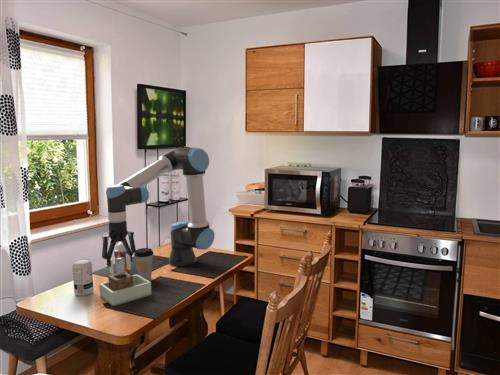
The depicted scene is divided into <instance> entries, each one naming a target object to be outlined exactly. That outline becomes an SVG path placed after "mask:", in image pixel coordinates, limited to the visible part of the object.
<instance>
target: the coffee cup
mask: <svg viewBox="0 0 500 375" xmlns="http://www.w3.org/2000/svg"><path fill="white" fill-rule="evenodd" d="M153 255H155V253H154V251H153V249H152V248H149V247H142V248H138V249H136V253H133V256H134V257H135V265H136V272H137V275H139V276H141V277H143V278H144V279H146V280H148V281H150V280H152V273H153V272H152V271H153V260H154V259H153V258H154V257H153Z"/></svg>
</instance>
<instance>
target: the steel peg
mask: <svg viewBox="0 0 500 375" xmlns="http://www.w3.org/2000/svg"><path fill="white" fill-rule="evenodd" d="M115 270H116V273H115V274H116V275H117V279H119V278H123V277H125V258H124V257H118V258H116V264H115Z"/></svg>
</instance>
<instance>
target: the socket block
mask: <svg viewBox="0 0 500 375" xmlns="http://www.w3.org/2000/svg"><path fill="white" fill-rule="evenodd" d="M107 278H108V281H109V289H111V290H112V291H113V292H114V291H118V290H121V289H125V288H129V287H132V286H133V276H132V275H131V274H130V273H129V274H128V273H127V272H125V277H123V278H119V279H117V275H116V273H114V274H110V275H108V276H107ZM108 281H107V282H108Z"/></svg>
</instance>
